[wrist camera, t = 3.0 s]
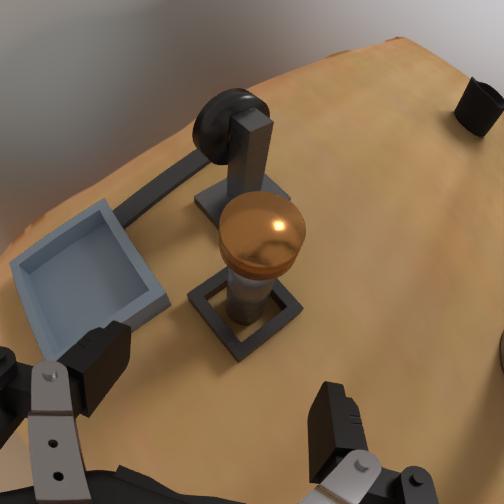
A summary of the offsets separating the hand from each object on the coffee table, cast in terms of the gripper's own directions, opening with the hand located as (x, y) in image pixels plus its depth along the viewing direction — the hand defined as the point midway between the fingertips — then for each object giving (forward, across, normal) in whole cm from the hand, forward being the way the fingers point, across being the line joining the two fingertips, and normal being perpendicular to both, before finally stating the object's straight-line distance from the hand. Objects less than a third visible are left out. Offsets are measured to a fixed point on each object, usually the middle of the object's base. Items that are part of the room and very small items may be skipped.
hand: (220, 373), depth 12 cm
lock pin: (+15, 0, +4) cm, 16 cm away
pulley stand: (+23, +3, -4) cm, 23 cm away
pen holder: (+51, -37, -31) cm, 70 cm away
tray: (+13, +15, +6) cm, 20 cm away
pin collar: (+15, 0, +4) cm, 16 cm away
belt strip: (+23, +12, -4) cm, 26 cm away
